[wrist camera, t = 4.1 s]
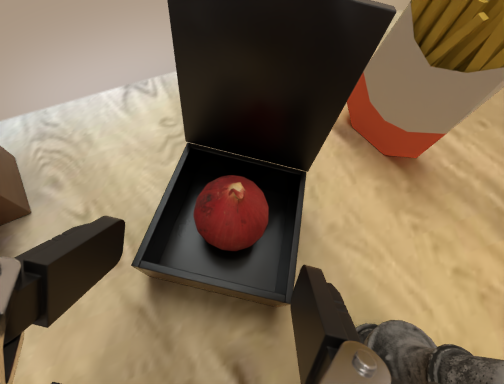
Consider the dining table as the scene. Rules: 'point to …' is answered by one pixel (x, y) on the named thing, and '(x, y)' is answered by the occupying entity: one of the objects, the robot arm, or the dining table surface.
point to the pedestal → (11, 190)
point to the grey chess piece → (427, 356)
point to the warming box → (212, 258)
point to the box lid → (271, 71)
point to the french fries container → (429, 74)
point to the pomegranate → (231, 213)
